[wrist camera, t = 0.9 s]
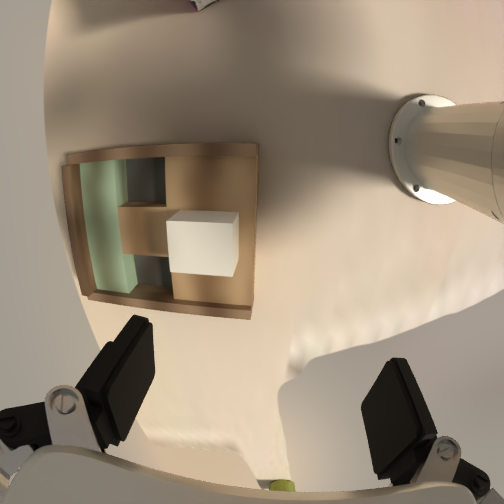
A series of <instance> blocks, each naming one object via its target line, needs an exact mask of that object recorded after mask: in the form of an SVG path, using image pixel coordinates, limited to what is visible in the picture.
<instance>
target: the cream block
mask: <svg viewBox="0 0 504 504" xmlns="http://www.w3.org/2000/svg"><path fill="white" fill-rule="evenodd" d="M166 226H167V240H168V253H169V264H170V272H176V273H188V274H201V275H214V276H227V277H233V274H234V271H235V268H236V265H237V262H238V257H239V212H225V211H197V210H180V211H178V212H177V213H176V214H174V215H173V216H172V217H171V218H169V219H168V220H167V221H166Z"/></svg>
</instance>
